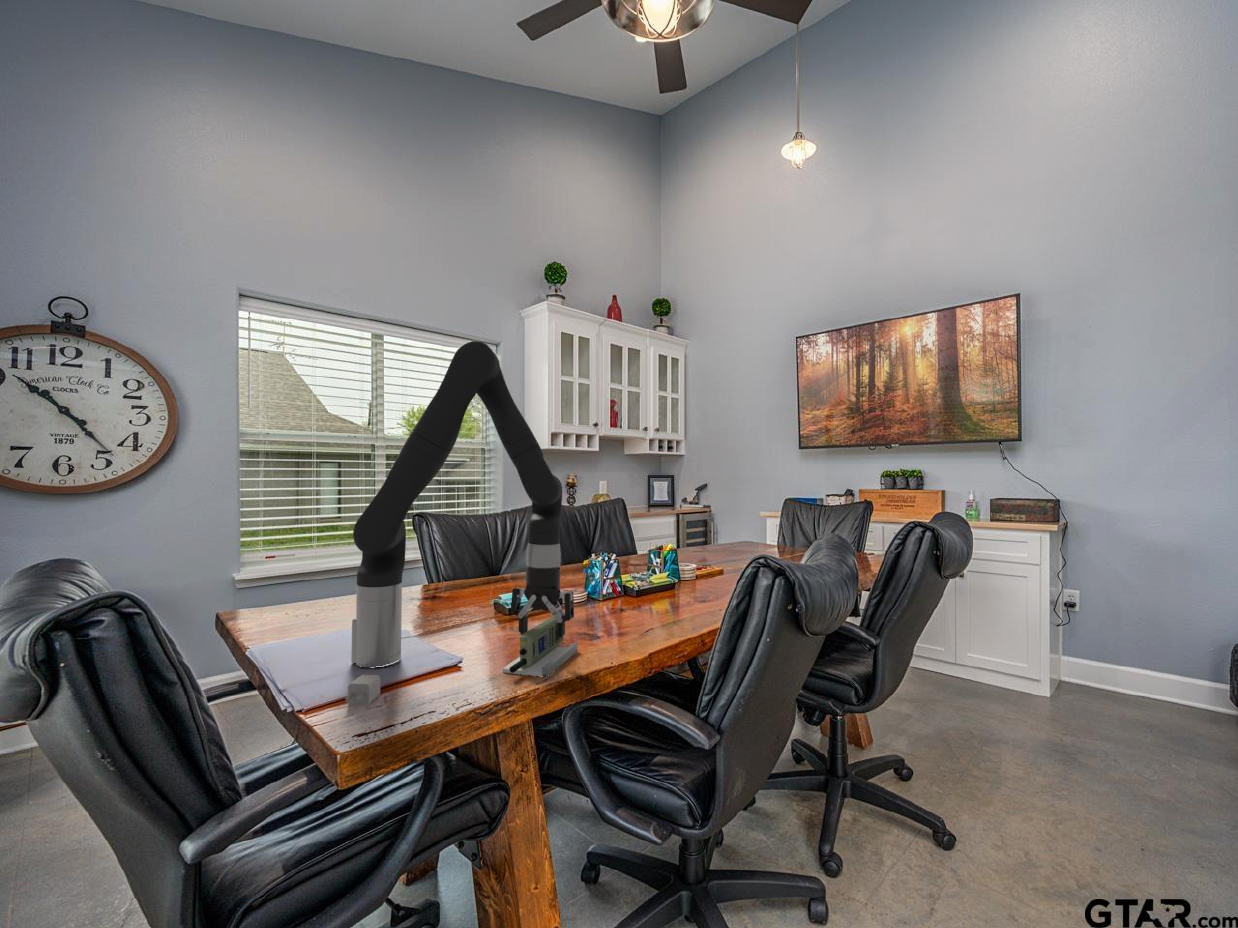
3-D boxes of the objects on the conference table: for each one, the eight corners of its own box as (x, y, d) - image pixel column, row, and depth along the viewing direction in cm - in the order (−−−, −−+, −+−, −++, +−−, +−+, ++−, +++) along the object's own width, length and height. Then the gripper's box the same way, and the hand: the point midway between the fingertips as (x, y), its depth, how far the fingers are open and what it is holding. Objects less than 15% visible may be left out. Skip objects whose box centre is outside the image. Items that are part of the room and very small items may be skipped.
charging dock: (502, 672, 123) (502, 662, 123) (538, 647, 140) (538, 638, 140) (546, 677, 120) (546, 667, 120) (577, 651, 138) (577, 642, 138)
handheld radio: (566, 642, 142) (519, 677, 118) (553, 641, 143) (505, 675, 119) (565, 614, 142) (519, 643, 118) (552, 613, 143) (504, 642, 119)
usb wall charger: (380, 696, 110) (380, 675, 110) (362, 712, 103) (362, 689, 103) (359, 695, 110) (359, 674, 110) (340, 711, 103) (340, 688, 103)
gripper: (506, 563, 129) (504, 637, 129) (567, 568, 125) (565, 644, 125) (521, 558, 136) (519, 628, 136) (579, 563, 132) (577, 635, 132)
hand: (541, 636), depth 130 cm, fingers open, 8 cm apart
